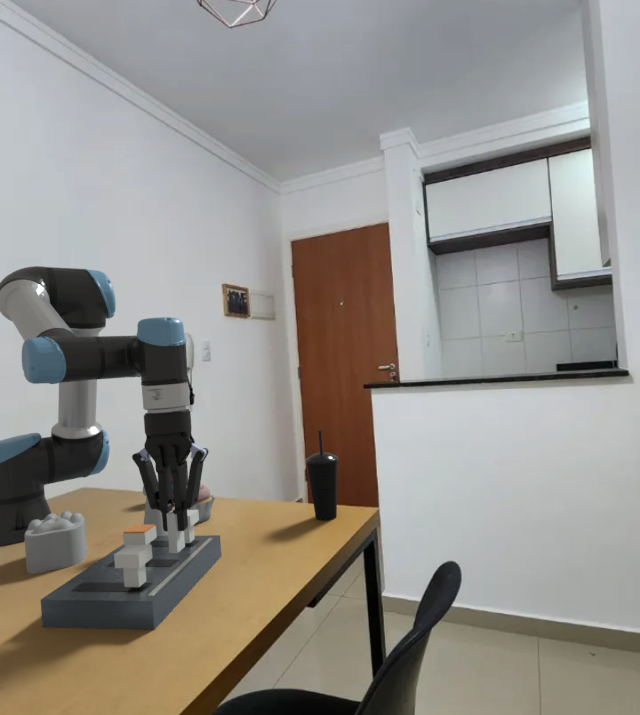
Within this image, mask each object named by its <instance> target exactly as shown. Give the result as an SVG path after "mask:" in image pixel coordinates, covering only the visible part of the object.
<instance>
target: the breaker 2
mask: <svg viewBox="0 0 640 715" xmlns="http://www.w3.org/2000/svg"><path fill="white" fill-rule="evenodd" d="M187 517H188V527H187V529H185V530H184V539H185V543H190V542H192V541H193V540H194V539H195V537H194V536H195V527H194V525H195V524H197V523H196V522H198V521H199V512H198V510H187Z"/></svg>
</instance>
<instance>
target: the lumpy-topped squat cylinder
mask: <svg viewBox="0 0 640 715" xmlns="http://www.w3.org/2000/svg"><path fill="white" fill-rule="evenodd" d="M85 521H86V520H85V517H84V516H83V514H82V513H80V512H75V513H72V512H71V511H69V510H64V511H63V512H62V513H61V514H59V515H57V514H56V513H53V512H51V514H49V515H47V516H46V517H45V519H44V520H41V521H40V520H38V519H36V520H33V521H31V522H30V523H29V526H28V529H27V530H26V532H25V535H24V536H25V541H24V549H25V550H24V551H25V561H26V562H25V564H26V573H28V574H31V575H32V574H37V575H38V574H42V573H45V572H46V573H47V572H50V571H54V570H60V569H67V568H71V567H74V566H76V565H78V564H81V563H82V562H83V561H84V560H85V558H86V556H87V553H88V550H87V549H88V548H87V535H86V534H87V532H86V522H85Z"/></svg>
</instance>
